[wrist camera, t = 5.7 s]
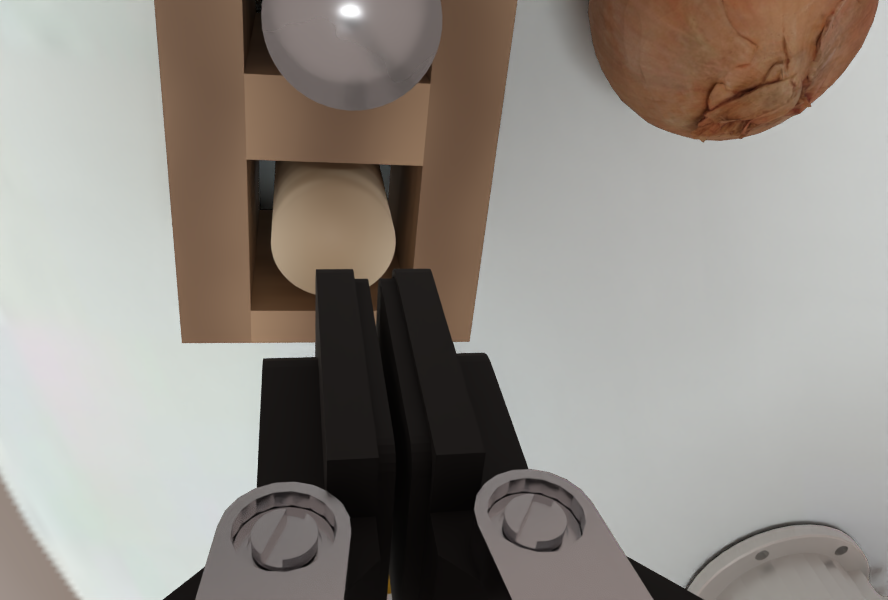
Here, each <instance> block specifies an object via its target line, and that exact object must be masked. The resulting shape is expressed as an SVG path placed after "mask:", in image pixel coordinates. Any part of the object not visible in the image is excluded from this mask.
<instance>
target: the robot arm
mask: <svg viewBox="0 0 888 600" xmlns="http://www.w3.org/2000/svg"><path fill="white" fill-rule="evenodd" d="M869 571H870V570H869V565H868V560H867V558H866V556H865V555H864V553H863V552H862V550H861V549H860V548H859V546H858V545H857V544H856V543H855V542H854V540H853V539H852V538H851V537H850V536H848V535H847V534H845V533H843V532H842V531H840V530H837V529H834V528H831V527H828V526H820V525H810V524H809V525H792V526H787V527H781V528H776V529H772V530H769V531H766V532H763V533H760V534H757V535H755V536H752V537H750V538H748V539H746V540H744V541H741V542H739V543H738V544H736V545H734V546H733V547H731V548H729V549H728V550H726V551H724V552H723V553H721V554H720V555H719V556H718V557H716V558H715V559H714V560H712V561H711V562H710V563H709V564H708V565H707V566H706V567H705V568H704V569H703V570H702V571H701V572H700V573H699V574H698V575H697V576H696V578H695V579H694V581H693V582H692V583H691V585H690V586H689V588H688V590H686V589H684V588H682V587H681V586H679V585H677V584H675V583H673V582H672V581H670V580H668V579H666V578H665V577H663V576H661V575H659V574H657V573H656V572H654V571H652V570H650V569H648V568H647V567H645V566H643V565H641V564H639V563H638V562H636V561H634V560H632V559H631V558H629V557H627V556H626V555H625V554H624V552H623V550H622V549H621V547H620V546H619V544H618V542H617V541H616V539H615V538H614V536H613V535H612V533H611V531H610V530H609V528H608V527H607V525H606V523H605V522H604V520H603V519H602V517H601V515H600V514H599V512H598V511H597V509H596V508H595V506H594V504H593V503H592V502H591V500H590V499H589V498H588V497H587V496H586V495H585V493H584V492H583V491H582V490H581V489H580V488H578V487H577V486H575V485H574V484H572V483H571V482H570V481H568V480H567V479H564V478H562V477H559V476H557V475H555V474H552V473H550V472H544V471H539V470H533V469H528V466H527V463H526V461H525V458H524V455H523V452H522V449H521V447H520V444H519V441H518V438H517V435H516V432H515V430H514V427H513V424H512V421H511V418H510V416H509V413H508V410H507V407H506V404H505V401H504V399H503V396H502V393H501V390H500V387H499V385H498V382H497V379H496V376H495V373H494V370H493V368H492V365H491V362H490V360H489V358H488V356H487V354H485V353H458V354H456V351H455V348H454V344H453V341H452V338H451V334H450V331H449V328H448V324H447V321H446V318H445V314H444V311H443V308H442V304H441V301H440V298H439V294H438V291H437V288H436V284H435V281H434V277H433V274H432V271H431V269H393V271H392V277H391V278H380V279H379V281H378V294H377V315H376V324H375V318H374V312H373V305H372V299H371V293H370V287H369V281H368V279H355V277H354V271H353V269H316V276H315V357H305V358H266V359H263V367H262V388H261V409H260V430H259V451H258V473H257V488H255V489H253V490H251V491H250V492H248V493H246V494H244V495H242V496H241V497H239V498H238V499H237V500H236V501H235V502H233V503H232V504H231V505H230V506H229V507H228V508H227V509H226V510H225V512H224V514H223V516H222V518H221V520H220V522H219V524H218V525H217V528H216V532H215V535H214V538H213V542H212V545H211V548H210V552H209V555H208V559H207V562H206V565H205V567H204V568H203V569H201V570H200V571H199V572H198V573H196V574H195V575H194V576H193V577H191V578H190V579H189V580H187V581H186V582H185V583H184V584H182V585H181V586H180V587H178V588H177V589H176V590H175V591H173V592H172V593H171V594H169V595H168V596H167V597H166V598H164V599H163V600H387V592H388V579H390V587H391V595H392V600H888V596H881V595H880V594H878V593H877V592H876V591H875V589H874V588H873V586H872V585H871V584H870V582H869Z"/></svg>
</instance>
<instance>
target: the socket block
mask: <svg viewBox="0 0 888 600" xmlns="http://www.w3.org/2000/svg"><path fill="white" fill-rule="evenodd" d="M440 1H441V7H442V32H441V38H440V43H439V46H438V50H437V53H436V55H435V57H434V60H433V62H432V64H431V65H430V67H429V69H428V70H427V72H426V73H425V75H424V76H423V77H422V79H421V80H420V81H419V82H418V83H417V84H416V85H415V86H414V87H413V88H412V89H411V90H410V91H408V92H407V93H406V94H405V95H403V96H402V97H400V98H398V99H397V100H395V101H393V102H391V103H388V104H386V105H384V106H380V107H377V108H373V109H367V110H355V111H349V110H340V109H335V108H331V107H327V106H325V105H322V104H319V103H317V102H315V101H313V100H311V99H309V98H308V97H306V96H305V95H303V94H302V93H300V92H299V91H297V90H296V89H295V88H294V87H293V86H292V85H291V84H290V83H289V82H288V81H287V80H286V79H285V78H284V77H283V75H282V74H281V73H280V71H279V70H278V68H277V67H276V65H275V64H274V62H273V60H272V58H271V56H270V54H269V52H268V49H267V46H266V43H265V39H264V35H263V30H262V19H261V13H256V0H154V5H155V17H156V29H157V41H158V54H159V66H160V78H161V91H162V103H163V115H164V128H165V140H166V152H167V165H168V177H169V189H170V202H171V214H172V226H173V239H174V251H175V263H176V275H177V288H178V300H179V312H180V325H181V337H182V343H292V342H315V294H312V293H309V292H306V291H304V290H302V289H300V288H298V287H297V286H295V285H294V284H292V283H291V282H290V281H289V280H288V279H287V278H286V277H285V276H284V275H283V274H282V273H281V271H280V270H279V268H278V267H277V265H276V263H275V260H274V258H273V254H272V250H271V232H272V215H273V210H260V200H259V160H274V161H302V162H329V163H357V164H385V165H391V170H390V184H389V198H388V204H389V209H390V213H391V217H392V222H393V226H394V230H395V237H396V245H395V252H394V255H393V259H392V261H391V263H390V265H389V267H388V268H387V270H386V271H385V273H384V274H383V275H382V276H381V277H380V278H391V277H392V271H393V269H431V271H432V274H433V277H434V281H435V284H436V288H437V291H438V294H439V298H440V301H441V304H442V308H443V311H444V314H445V318H446V321H447V324H448V328H449V331H450V334H451V338H452V341H453V342H469V341H470V334H471V327H472V320H473V313H474V306H475V299H476V292H477V285H478V277H479V270H480V263H481V256H482V249H483V242H484V235H485V228H486V221H487V213H488V206H489V199H490V192H491V185H492V178H493V171H494V164H495V157H496V149H497V142H498V135H499V128H500V121H501V114H502V107H503V100H504V93H505V85H506V78H507V71H508V64H509V57H510V50H511V43H512V36H513V29H514V21H515V14H516V7H517V0H440ZM380 278H379V279H380ZM379 279H378V280H377V281H376V282H375V283H373V284H372V285H371V286H369V287H370V293H371V299H372V305H373V312H374V318H375V324H376V315H377V294H378V281H379Z"/></svg>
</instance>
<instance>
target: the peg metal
mask: <svg viewBox="0 0 888 600" xmlns="http://www.w3.org/2000/svg"><path fill="white" fill-rule="evenodd" d="M261 19H262V30H263V35H264V39H265V43H266V46H267V49H268V52H269V54H270V56H271V58H272V60H273V62H274V64H275V65H276V67H277V68H278V70H279V71H280V73H281V74H282V75H283V77H284V78H285V79H286V80H287V81H288V82H289V83H290V84H291V85H292V86H293V87H294V88H295V89H296V90H297V91H299V92H300V93H302V94H303V95H305V96H306V97H308V98H309V99H311V100H313V101H315V102H317V103H319V104H322V105H325V106H327V107H331V108H335V109H340V110H349V111H355V110H367V109H373V108H377V107H380V106H384V105H386V104H388V103H391V102H393V101H395V100H397V99H398V98H400V97H402V96H403V95H405V94H406V93H407V92H408V91H410V90H411V89H412V88H413V87H414V86H415V85H416V84H417V83H418V82H419V81H420V80H421V79H422V77H423V76H424V75H425V73H426V72H427V70H428V69H429V67H430V65H431V64H432V62H433V60H434V57H435V55H436V53H437V50H438V46H439V43H440V38H441V32H442V7H441V1H440V0H263V1H262V12H261Z"/></svg>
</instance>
